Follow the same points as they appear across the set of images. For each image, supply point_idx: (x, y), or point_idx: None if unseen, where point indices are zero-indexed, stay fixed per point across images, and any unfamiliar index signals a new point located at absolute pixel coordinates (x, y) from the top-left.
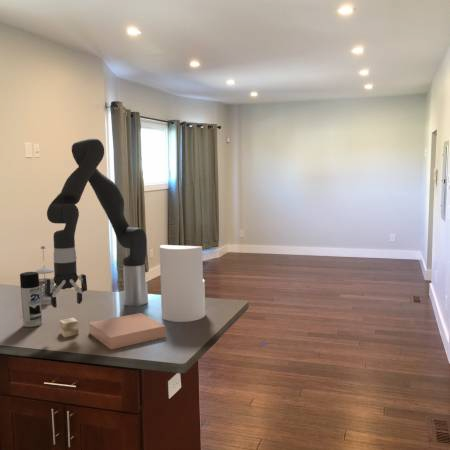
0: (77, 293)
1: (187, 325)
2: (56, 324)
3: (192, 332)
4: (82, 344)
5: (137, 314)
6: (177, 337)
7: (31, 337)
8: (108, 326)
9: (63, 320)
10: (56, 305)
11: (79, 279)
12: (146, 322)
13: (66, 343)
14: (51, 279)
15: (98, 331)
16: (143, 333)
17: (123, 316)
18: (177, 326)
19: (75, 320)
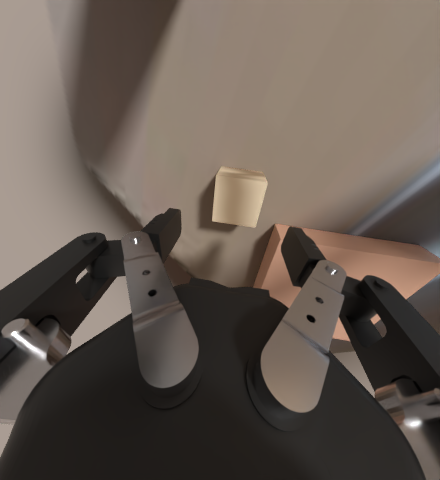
0: (300, 271)
1: (430, 313)
2: (263, 11)
3: (384, 331)
4: (226, 265)
5: (423, 271)
6: None
7: (143, 138)
8: (287, 289)
9: (225, 189)
10: (177, 238)
11: (391, 399)
12: None
13: (205, 242)
14: (11, 413)
15: (260, 283)
16: None
17: (384, 258)
18: (415, 306)
19: (253, 218)
